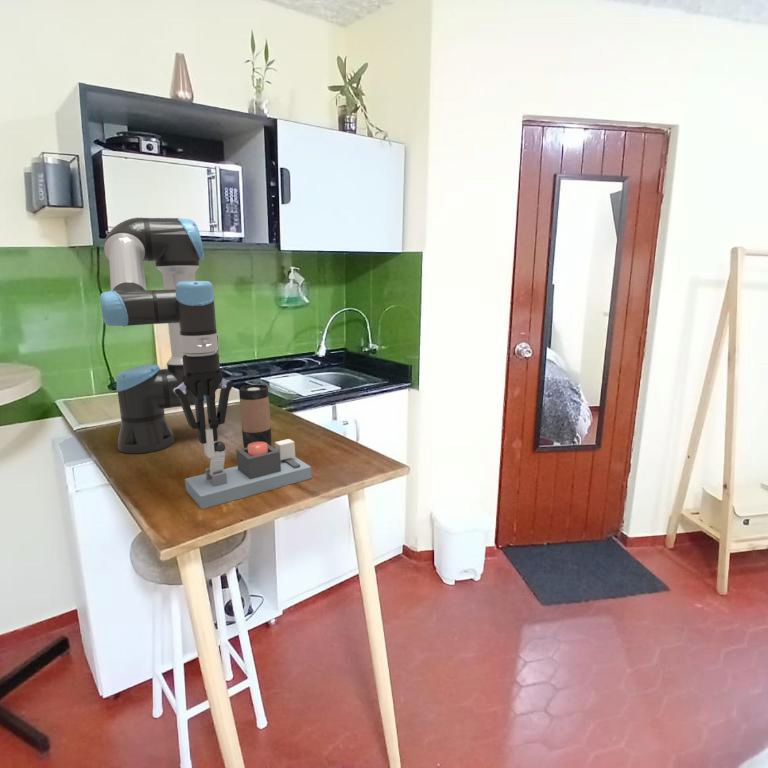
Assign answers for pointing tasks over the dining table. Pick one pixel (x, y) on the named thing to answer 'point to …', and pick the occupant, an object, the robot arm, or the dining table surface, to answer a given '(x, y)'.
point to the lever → (217, 458)
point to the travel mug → (255, 414)
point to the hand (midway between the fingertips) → (209, 455)
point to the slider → (285, 448)
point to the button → (257, 448)
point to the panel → (246, 478)
